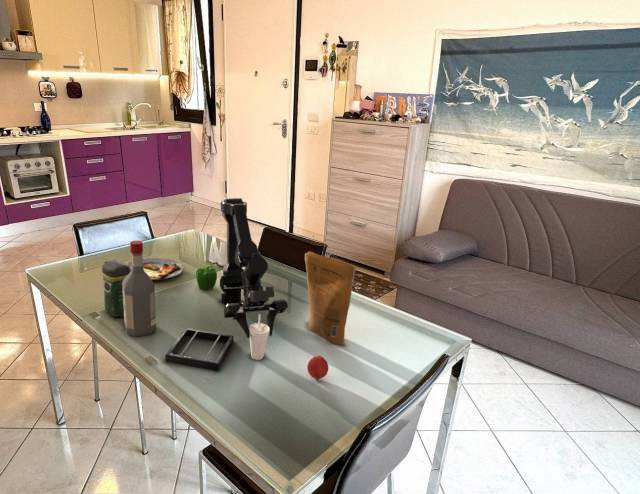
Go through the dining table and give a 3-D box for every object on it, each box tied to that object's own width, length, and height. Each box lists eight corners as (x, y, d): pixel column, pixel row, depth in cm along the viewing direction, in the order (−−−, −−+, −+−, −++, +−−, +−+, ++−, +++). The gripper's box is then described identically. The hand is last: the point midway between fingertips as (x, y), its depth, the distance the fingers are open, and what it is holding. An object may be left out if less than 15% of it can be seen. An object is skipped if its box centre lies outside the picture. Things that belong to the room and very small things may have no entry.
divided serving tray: (185, 334, 141) (185, 327, 140) (233, 342, 138) (233, 335, 137) (165, 361, 127) (165, 354, 126) (218, 371, 124) (218, 363, 123)
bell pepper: (191, 289, 173) (191, 266, 170) (201, 282, 180) (201, 259, 177) (210, 294, 170) (210, 270, 167) (219, 286, 178) (220, 263, 174)
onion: (304, 372, 125) (307, 348, 122) (324, 372, 126) (327, 348, 123) (308, 385, 120) (311, 360, 117) (329, 385, 120) (332, 360, 117)
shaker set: (231, 267, 198) (232, 244, 194) (224, 269, 195) (224, 245, 191) (215, 259, 206) (215, 237, 202) (207, 261, 203) (208, 238, 199)
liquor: (128, 338, 137) (122, 248, 127) (124, 324, 145) (118, 239, 135) (157, 333, 141) (154, 245, 131) (151, 320, 149) (148, 236, 138)
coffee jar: (136, 313, 153) (133, 263, 147) (115, 320, 148) (111, 269, 141) (121, 303, 159) (118, 255, 153) (101, 310, 154) (97, 261, 147)
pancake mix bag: (337, 351, 137) (348, 268, 127) (296, 325, 151) (303, 248, 141) (352, 344, 141) (363, 263, 131) (310, 320, 155) (318, 245, 145)
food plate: (194, 271, 191) (194, 264, 190) (156, 288, 172) (156, 280, 171) (152, 258, 203) (152, 251, 202) (113, 273, 185) (112, 265, 183)
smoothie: (266, 349, 135) (268, 309, 130) (269, 361, 129) (272, 320, 124) (245, 350, 134) (247, 310, 129) (248, 362, 128) (250, 320, 123)
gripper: (226, 278, 124) (233, 332, 118) (288, 275, 129) (298, 326, 123) (220, 292, 134) (226, 342, 128) (278, 288, 139) (287, 336, 133)
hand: (259, 336), depth 128 cm, fingers closed on smoothie, 6 cm apart
